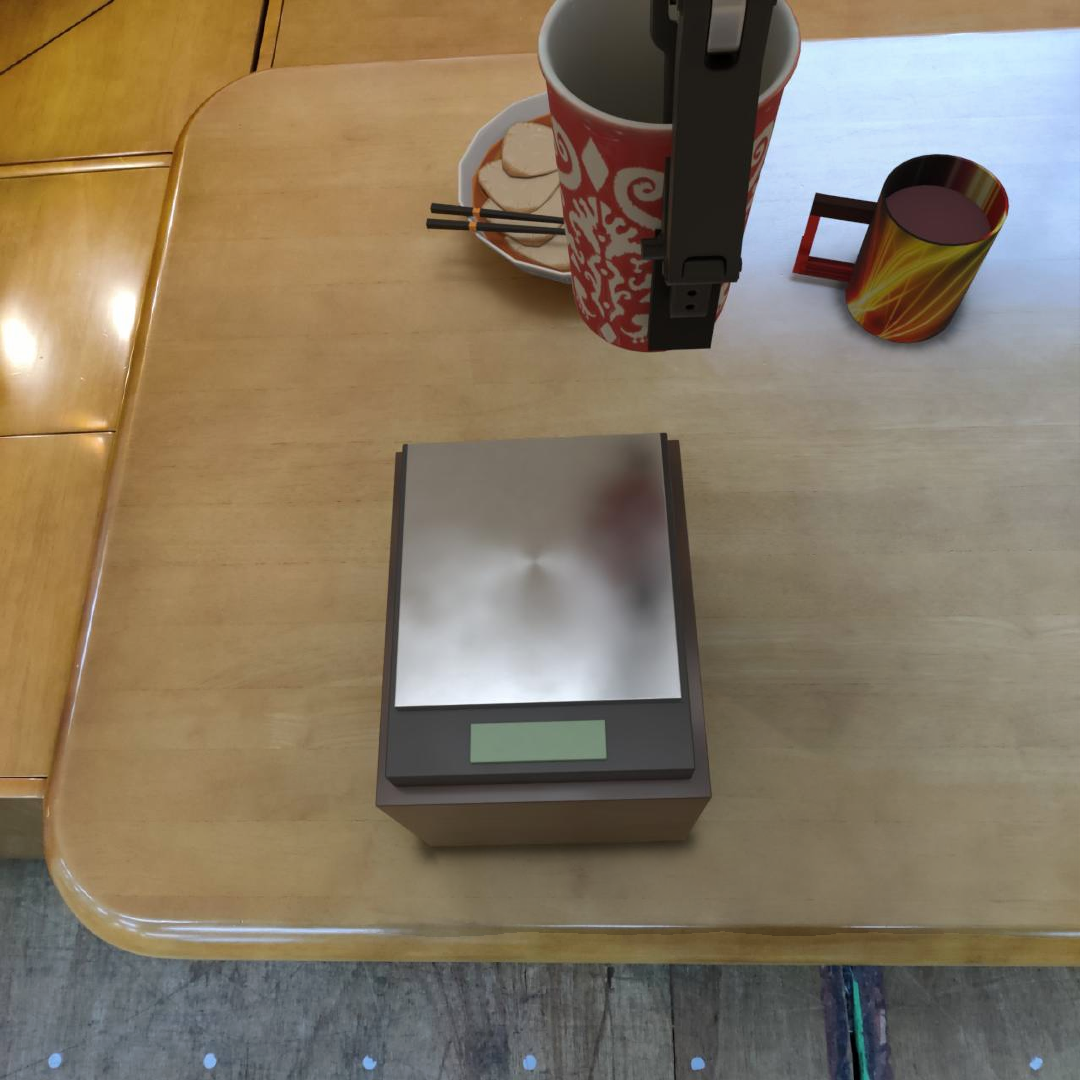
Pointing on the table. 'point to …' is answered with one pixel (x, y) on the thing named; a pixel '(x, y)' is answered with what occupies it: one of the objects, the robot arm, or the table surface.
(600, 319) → the mug
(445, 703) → the kitchen scale
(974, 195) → the mug
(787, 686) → the table surface
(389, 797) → the riser
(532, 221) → the ramen bowl
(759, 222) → the table surface
